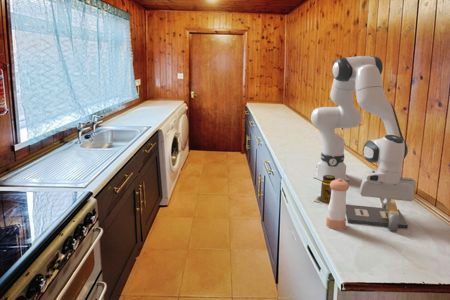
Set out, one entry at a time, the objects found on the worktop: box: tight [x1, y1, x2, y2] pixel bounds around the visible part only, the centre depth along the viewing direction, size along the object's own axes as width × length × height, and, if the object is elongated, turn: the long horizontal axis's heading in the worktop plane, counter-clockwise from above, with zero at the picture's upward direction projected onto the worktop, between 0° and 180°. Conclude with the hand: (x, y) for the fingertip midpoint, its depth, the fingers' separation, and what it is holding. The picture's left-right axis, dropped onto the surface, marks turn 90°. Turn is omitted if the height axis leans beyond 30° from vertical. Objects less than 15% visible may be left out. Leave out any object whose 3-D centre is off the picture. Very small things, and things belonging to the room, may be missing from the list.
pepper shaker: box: [325, 179, 350, 231], centre depth 144 cm, size 7×7×19 cm
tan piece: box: [387, 199, 399, 232], centre depth 149 cm, size 18×3×6 cm, turn 161°
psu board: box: [345, 204, 409, 230], centre depth 154 cm, size 16×22×2 cm
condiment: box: [314, 175, 335, 206], centre depth 170 cm, size 7×8×12 cm
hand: (384, 208), depth 153 cm, fingers closed
